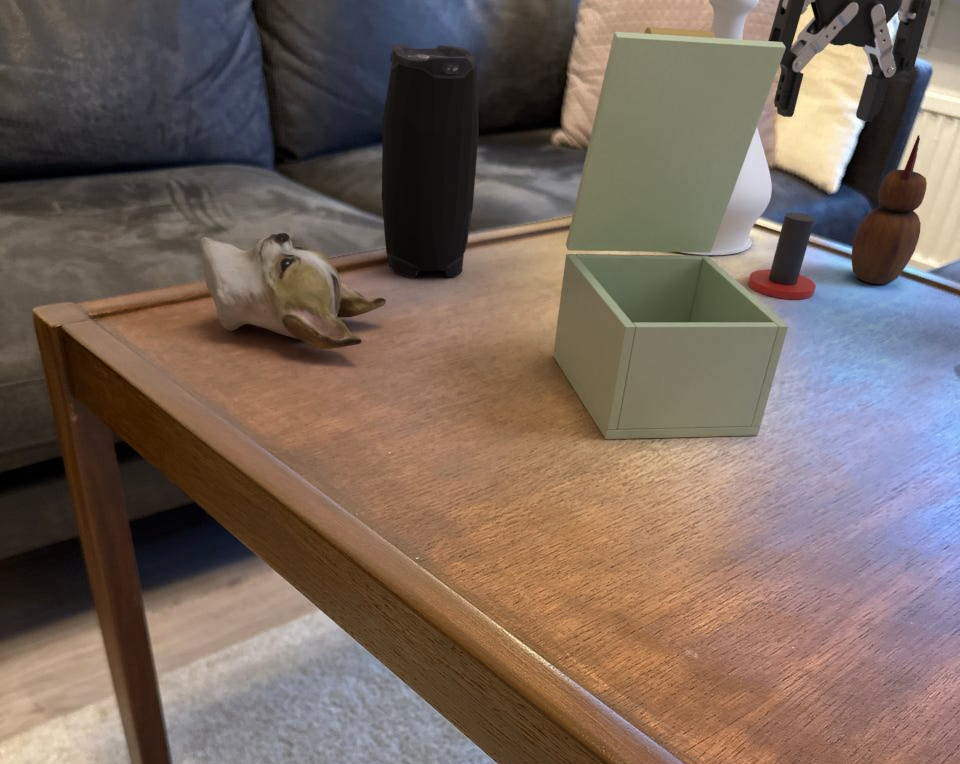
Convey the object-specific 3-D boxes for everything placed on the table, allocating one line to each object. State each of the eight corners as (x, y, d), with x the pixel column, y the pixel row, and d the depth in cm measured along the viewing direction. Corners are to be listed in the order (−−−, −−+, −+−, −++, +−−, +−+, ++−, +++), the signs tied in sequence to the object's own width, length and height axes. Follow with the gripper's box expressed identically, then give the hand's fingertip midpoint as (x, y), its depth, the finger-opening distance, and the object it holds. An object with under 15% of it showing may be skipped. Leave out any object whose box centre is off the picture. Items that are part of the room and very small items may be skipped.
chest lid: (786, 47, 69) (763, 13, 72) (617, 36, 67) (599, 2, 69) (710, 252, 83) (693, 217, 85) (567, 250, 80) (554, 214, 83)
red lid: (768, 272, 109) (786, 203, 105) (825, 290, 106) (846, 220, 101) (735, 284, 105) (752, 213, 100) (793, 304, 101) (813, 231, 97)
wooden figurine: (880, 293, 107) (930, 141, 97) (834, 276, 110) (879, 129, 100) (911, 282, 110) (963, 136, 101) (867, 267, 113) (912, 123, 104)
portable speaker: (364, 266, 100) (364, 45, 88) (422, 248, 106) (430, 38, 94) (429, 289, 97) (439, 61, 84) (485, 268, 103) (502, 53, 91)
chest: (758, 435, 77) (789, 326, 71) (605, 439, 74) (625, 326, 69) (686, 354, 89) (708, 255, 83) (552, 356, 86) (565, 253, 81)
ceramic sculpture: (222, 199, 84) (393, 232, 84) (225, 298, 90) (385, 329, 89) (175, 237, 76) (363, 273, 76) (181, 343, 82) (357, 377, 81)
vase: (594, 212, 122) (629, -29, 107) (721, 214, 127) (772, -18, 111) (645, 258, 109) (692, -8, 94) (784, 258, 114) (852, 3, 98)
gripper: (826, -96, 80) (773, 123, 90) (978, -81, 83) (910, 129, 93) (786, -101, 86) (740, 106, 96) (929, -87, 89) (870, 112, 99)
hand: (824, 117), depth 95 cm, fingers open, 8 cm apart
